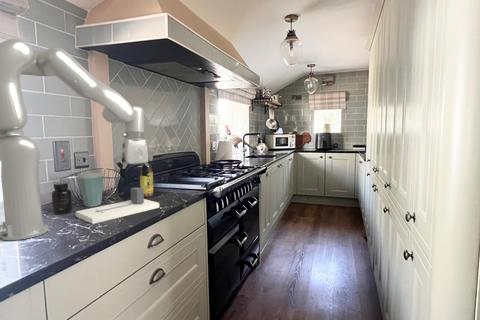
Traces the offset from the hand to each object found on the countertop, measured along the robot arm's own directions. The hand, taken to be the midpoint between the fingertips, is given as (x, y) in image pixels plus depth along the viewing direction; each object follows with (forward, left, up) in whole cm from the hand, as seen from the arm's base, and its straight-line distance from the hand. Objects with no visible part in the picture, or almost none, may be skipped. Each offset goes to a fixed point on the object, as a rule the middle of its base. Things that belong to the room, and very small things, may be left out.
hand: (134, 177), depth 122 cm
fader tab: (+1, 0, -11) cm, 11 cm away
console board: (-7, 0, -13) cm, 15 cm away
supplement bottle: (-22, +17, -14) cm, 31 cm away
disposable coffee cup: (-9, +20, -14) cm, 26 cm away
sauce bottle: (+16, +16, -14) cm, 26 cm away
